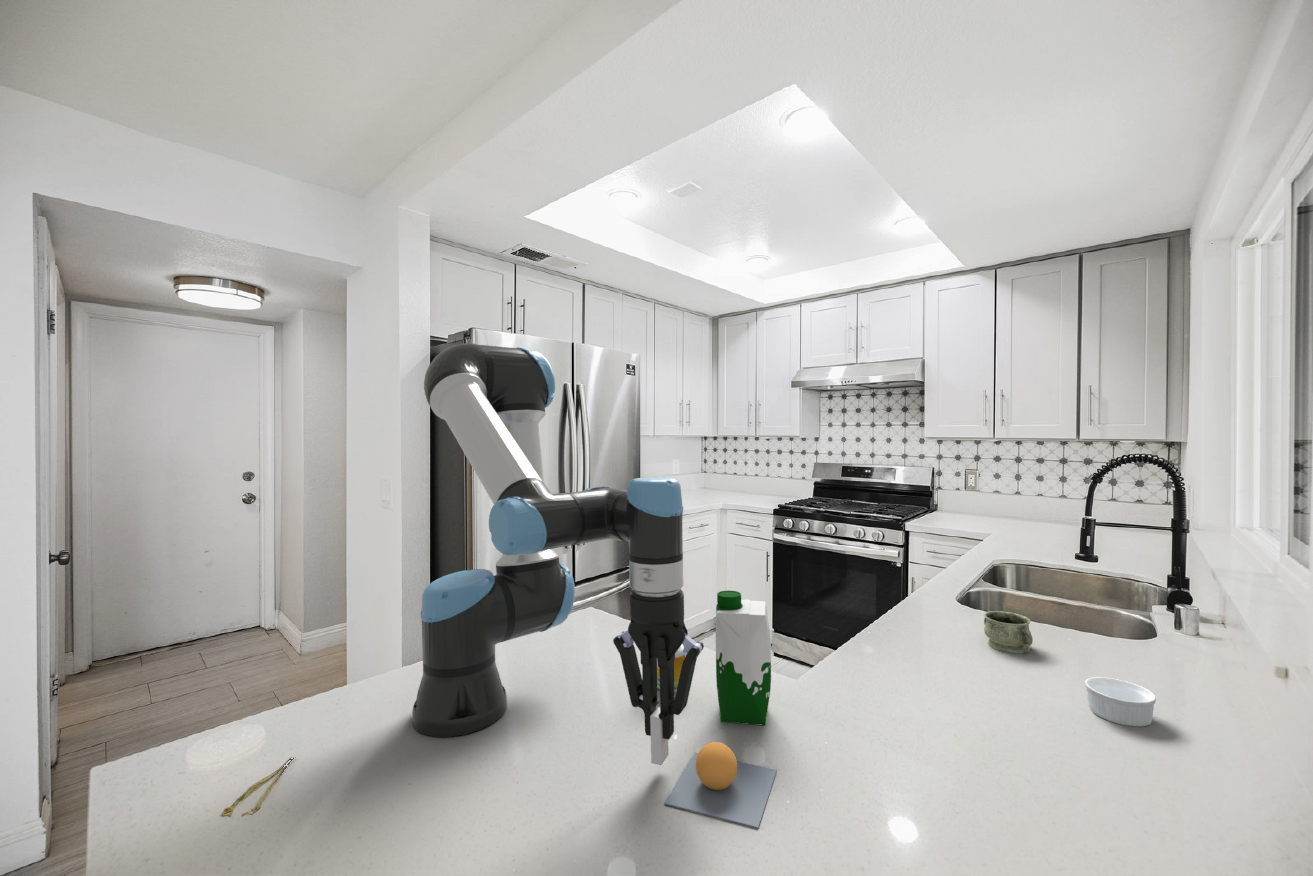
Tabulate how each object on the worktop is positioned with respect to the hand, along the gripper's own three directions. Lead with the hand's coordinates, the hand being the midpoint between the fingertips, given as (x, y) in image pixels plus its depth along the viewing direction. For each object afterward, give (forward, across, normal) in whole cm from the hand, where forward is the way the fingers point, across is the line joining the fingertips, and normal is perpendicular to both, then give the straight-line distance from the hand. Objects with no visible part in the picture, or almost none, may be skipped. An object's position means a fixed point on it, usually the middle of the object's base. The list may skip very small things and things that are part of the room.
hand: (660, 758), depth 77 cm
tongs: (+3, -50, -22) cm, 54 cm away
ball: (-1, +8, 0) cm, 8 cm away
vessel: (+2, +53, +68) cm, 86 cm away
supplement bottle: (+2, -8, +25) cm, 26 cm away
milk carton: (+2, +7, +20) cm, 21 cm away
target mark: (+2, +9, 0) cm, 9 cm away
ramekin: (+2, +64, +41) cm, 76 cm away
